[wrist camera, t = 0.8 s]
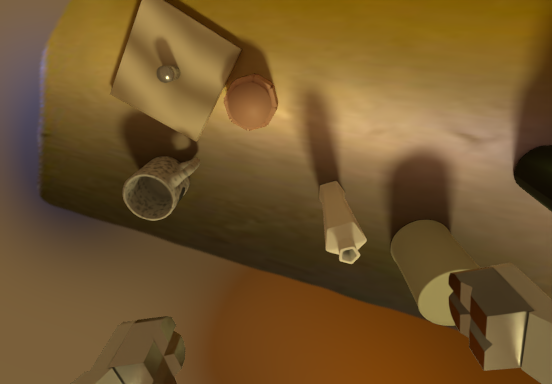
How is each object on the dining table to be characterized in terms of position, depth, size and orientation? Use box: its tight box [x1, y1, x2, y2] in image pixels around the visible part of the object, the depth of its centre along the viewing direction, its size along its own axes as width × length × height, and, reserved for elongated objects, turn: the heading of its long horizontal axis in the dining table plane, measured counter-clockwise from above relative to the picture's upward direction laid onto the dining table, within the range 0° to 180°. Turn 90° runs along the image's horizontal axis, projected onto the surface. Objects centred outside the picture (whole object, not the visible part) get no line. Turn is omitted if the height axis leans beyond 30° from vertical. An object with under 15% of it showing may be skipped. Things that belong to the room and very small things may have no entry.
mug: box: [122, 156, 200, 220], centre depth 42 cm, size 10×7×7 cm
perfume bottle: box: [319, 181, 367, 264], centre depth 39 cm, size 5×4×15 cm
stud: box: [156, 65, 181, 83], centre depth 37 cm, size 2×2×3 cm
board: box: [110, 0, 242, 141], centre depth 39 cm, size 13×12×1 cm
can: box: [391, 220, 480, 325], centre depth 43 cm, size 9×9×12 cm
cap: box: [224, 74, 278, 131], centre depth 38 cm, size 6×6×4 cm
